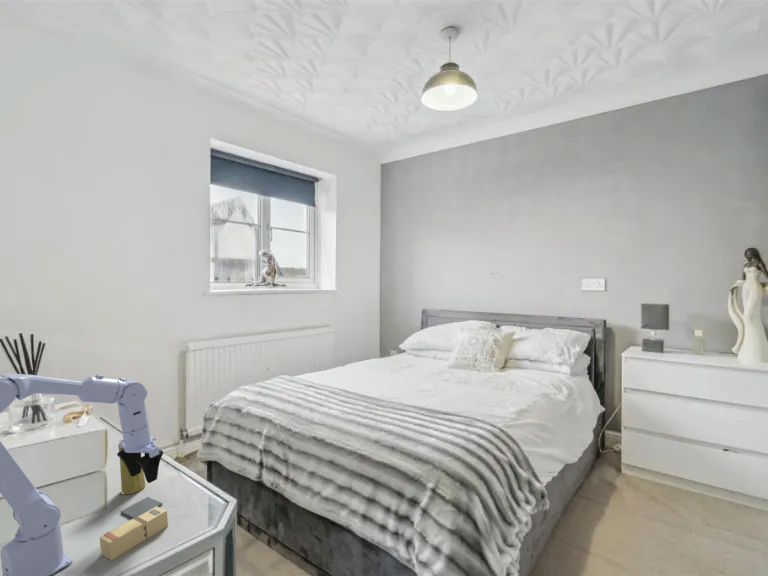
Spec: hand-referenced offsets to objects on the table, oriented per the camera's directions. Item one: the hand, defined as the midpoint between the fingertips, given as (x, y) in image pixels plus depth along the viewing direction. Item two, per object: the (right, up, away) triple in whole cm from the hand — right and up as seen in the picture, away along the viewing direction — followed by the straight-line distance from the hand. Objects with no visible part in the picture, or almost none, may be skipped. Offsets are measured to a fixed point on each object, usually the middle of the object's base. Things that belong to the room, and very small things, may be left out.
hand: (144, 477), depth 100 cm
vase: (-12, -11, +15) cm, 22 cm away
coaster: (-3, -11, +4) cm, 12 cm away
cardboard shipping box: (+2, -11, -10) cm, 15 cm away
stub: (+5, -11, -4) cm, 13 cm away
